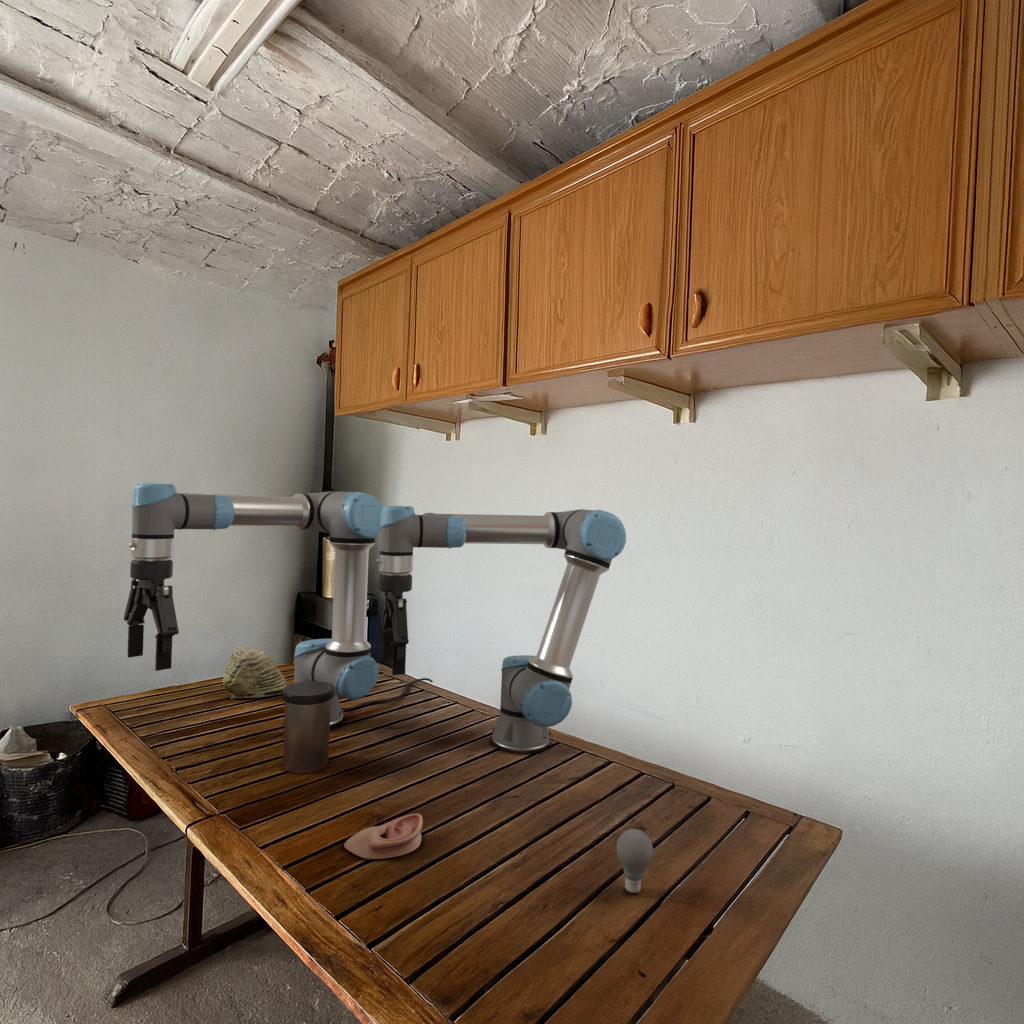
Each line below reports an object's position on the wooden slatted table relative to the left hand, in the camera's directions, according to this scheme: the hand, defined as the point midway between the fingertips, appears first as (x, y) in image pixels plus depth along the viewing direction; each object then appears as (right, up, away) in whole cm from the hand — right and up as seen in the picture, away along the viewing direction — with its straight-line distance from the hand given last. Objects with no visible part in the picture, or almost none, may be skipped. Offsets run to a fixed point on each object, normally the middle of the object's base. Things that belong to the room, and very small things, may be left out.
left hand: (148, 662), depth 129 cm
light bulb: (+94, -33, -24) cm, 103 cm away
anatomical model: (+51, -31, -13) cm, 60 cm away
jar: (+26, -29, +20) cm, 43 cm away
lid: (+26, -11, +20) cm, 35 cm away
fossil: (-6, -27, +69) cm, 74 cm away
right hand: (+47, -4, +15) cm, 50 cm away
